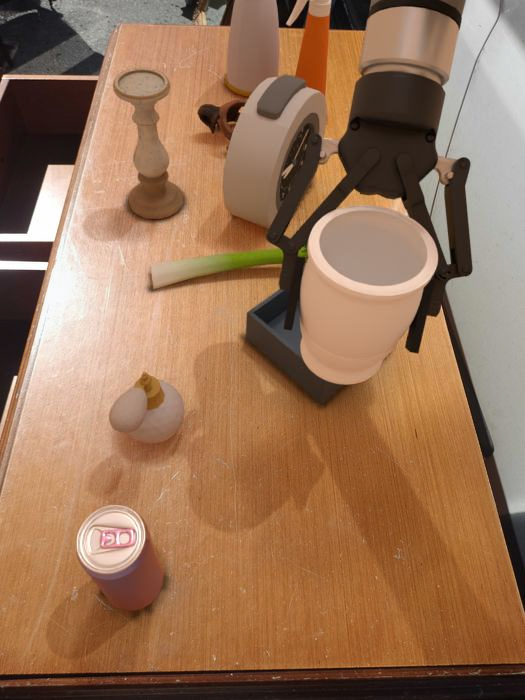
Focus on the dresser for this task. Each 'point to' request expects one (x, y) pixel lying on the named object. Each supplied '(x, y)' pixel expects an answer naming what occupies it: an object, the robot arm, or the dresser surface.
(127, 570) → the beverage can
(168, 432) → the perfume bottle
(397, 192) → the robot arm
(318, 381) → the tray
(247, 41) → the soap bottle
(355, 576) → the dresser surface
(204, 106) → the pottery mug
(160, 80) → the candle holder
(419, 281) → the jar
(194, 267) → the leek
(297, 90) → the alarm clock
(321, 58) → the spray bottle
